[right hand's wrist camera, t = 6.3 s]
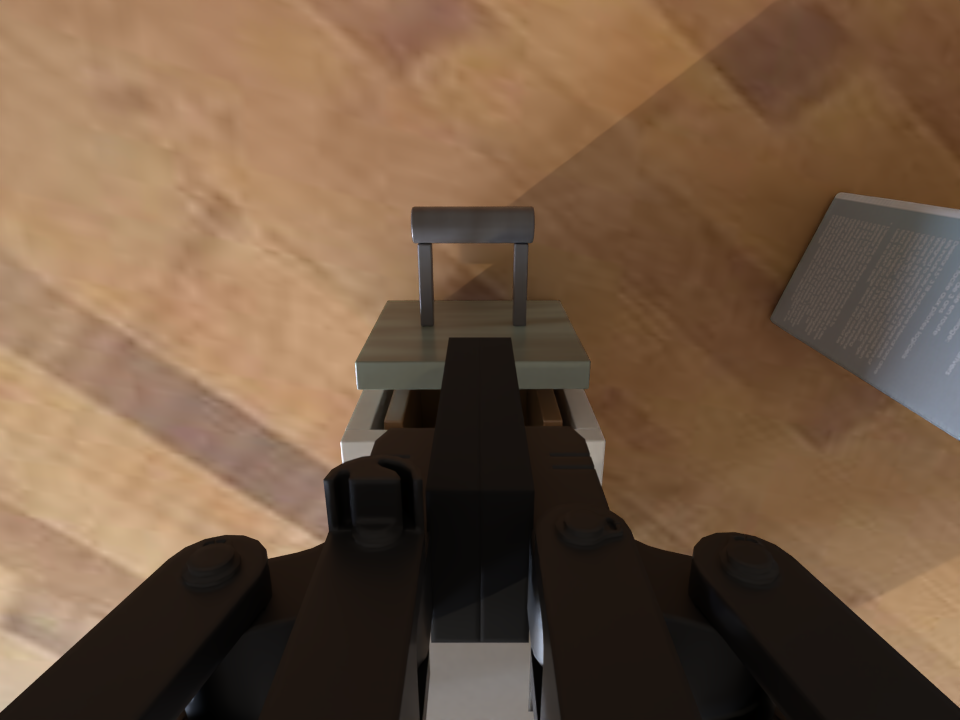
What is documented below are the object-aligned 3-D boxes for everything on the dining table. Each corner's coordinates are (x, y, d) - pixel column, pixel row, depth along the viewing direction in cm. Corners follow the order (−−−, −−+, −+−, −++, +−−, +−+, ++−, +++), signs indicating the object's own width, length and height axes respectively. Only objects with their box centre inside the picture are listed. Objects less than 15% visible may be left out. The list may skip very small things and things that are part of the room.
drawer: (381, 196, 29) (343, 222, 21) (565, 196, 29) (601, 221, 21) (400, 537, 37) (378, 658, 28) (548, 536, 37) (569, 657, 28)
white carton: (381, 345, 33) (339, 441, 23) (565, 345, 33) (606, 440, 23) (396, 580, 39) (368, 740, 29) (552, 579, 39) (580, 739, 29)
